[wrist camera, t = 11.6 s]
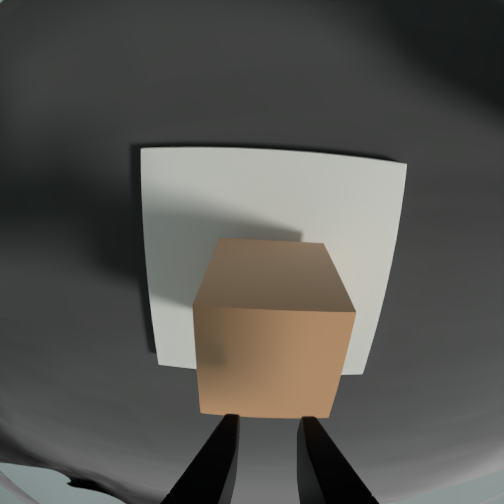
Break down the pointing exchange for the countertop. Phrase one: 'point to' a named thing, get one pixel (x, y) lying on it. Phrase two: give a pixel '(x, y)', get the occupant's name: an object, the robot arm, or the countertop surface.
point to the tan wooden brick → (270, 329)
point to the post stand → (265, 227)
